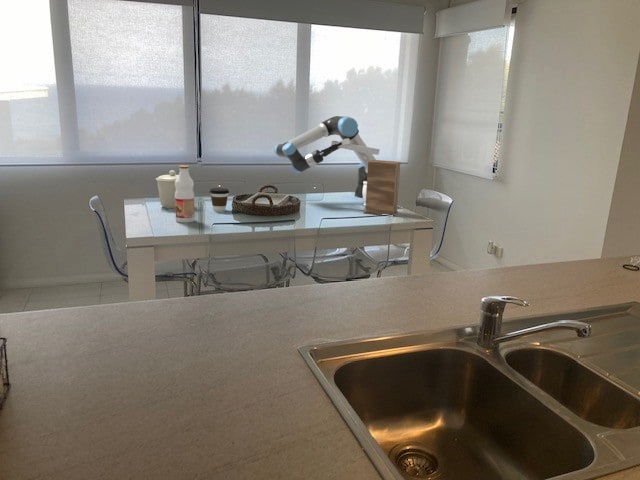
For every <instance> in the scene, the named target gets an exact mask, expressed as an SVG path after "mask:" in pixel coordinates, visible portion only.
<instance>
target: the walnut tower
mask: <svg viewBox="0 0 640 480" xmlns="http://www.w3.org/2000/svg"><path fill="white" fill-rule="evenodd" d="M401 162H402V161H394V160H381V159H376V160H371V161H368V175H367V191H366V206H364V207H365V211H364V212H363V214H365V215H373V216H374V215H375V216H382V214H392V215H394V214H396V213H397V212H398V213H399V210H398V202H399V201H398V200H399V199H398V198H399V188H400V187H399V186H400V176H401V175H400V174H401V173H400V172H401ZM398 213H397V214H398ZM397 214H396V215H397ZM394 216H395V215H394Z"/></svg>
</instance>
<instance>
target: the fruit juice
mask: <svg viewBox="0 0 640 480" xmlns="http://www.w3.org/2000/svg"><path fill="white" fill-rule="evenodd" d="M178 170H179V174H178V175H179V176H178V178H177V179H176V181H175V187H176V192H175V221H176V222H177V223H182V224H184V223H185V224H186V223H187V224H188V223H189V224H190V223H193V222H195V220H196V217H195V216H196V215H195V214H196V212H195V192H194V184H195V183H194V179H192V178H191V175H190V171H189V170H190V166H189V165H185V164H183V165H179V166H178Z"/></svg>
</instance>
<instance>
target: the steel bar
mask: <svg viewBox="0 0 640 480" xmlns="http://www.w3.org/2000/svg"><path fill="white" fill-rule="evenodd" d="M338 142H339V141H337V140H332V141H331V142H330V143H331V144H330V146H332V145H335V144H336V143H338ZM339 149H344V150H350V151H353V150H354V151H359V152H364V153H369V154H373V156H374V155H375V156H378V155H380V148H376V147H375V148H374V147H369V146H367V147H365V146H360V145H354V144H349V143H347V144H345V145H343V146H341V147H339ZM354 151H353V152H354Z"/></svg>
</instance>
